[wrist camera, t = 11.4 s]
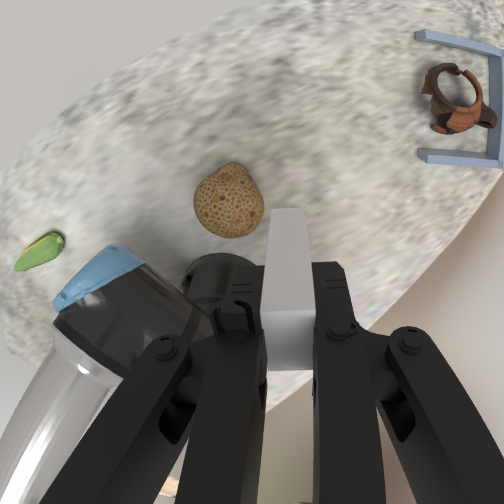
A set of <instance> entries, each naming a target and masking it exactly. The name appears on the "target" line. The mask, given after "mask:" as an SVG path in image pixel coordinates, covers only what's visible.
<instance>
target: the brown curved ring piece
mask: <svg viewBox="0 0 504 504" xmlns="http://www.w3.org/2000/svg"><path fill="white" fill-rule="evenodd" d="M445 70H448V72H449V73H450V74H453V75H460V73H461V74H462V75H463V76H465V77H466V78H467V79H468V80H469V81H470V82H471V84H472V85H473V87H474V89H475V91H476V101H475V103H474V104H473V105H472V106H469V107H460V106H456V105H454V104H453V103H451V102H450V101H448V100H447V99H446V98H445V97H444V96H443V94H442V93H441V91H440V90H439V88H438V82H437V78H438V75H439V74H440V73H441V72H442V71H445ZM421 93H422V94H424V93H425V94H430V95H433V97H432V99H431V106H432V107H431V112H432V113H433V114H434V116H438V115H439V114H445V113H452V114H451V117H450V118H449V120H448V121H447V122H446V125H447V127H448V128H450V129H449V130H446V129H444V128H442V127H440V126H438V125H436V124H435V125H434V126H432V127H431V128H432V130H434V131H436V132H438V133H441V134H447V135H448V134H454V133H459V132H463V131H466V130H468V129H470V128H472V127H473V126H474V124H477V125H479V126H482V127H485V128H489V129H493V128H495V127H496V125H497V124H498V117H497V115H496V113H495V112H494V111H493V110H492V109H491V108H489V107H487V106H486V105H485V104H484V102H483V93H482V89H481V86H480V84H479V82H478V81H477V79H476V78H475V76H474V75H473V74H472V73H471V72H470V71H468V70H465V71H464V72H463V71H461V70H459V69H458V66H457V65H456V64H455V63H443V64H440V65H438V66H436V67H434V68H432V69H430V70H429V71H428V74H427V75H426V77H425V83H424V86H423V88H422V92H421Z"/></svg>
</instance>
